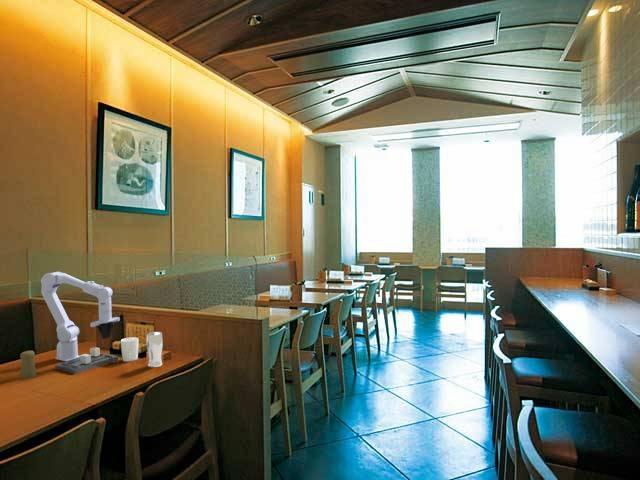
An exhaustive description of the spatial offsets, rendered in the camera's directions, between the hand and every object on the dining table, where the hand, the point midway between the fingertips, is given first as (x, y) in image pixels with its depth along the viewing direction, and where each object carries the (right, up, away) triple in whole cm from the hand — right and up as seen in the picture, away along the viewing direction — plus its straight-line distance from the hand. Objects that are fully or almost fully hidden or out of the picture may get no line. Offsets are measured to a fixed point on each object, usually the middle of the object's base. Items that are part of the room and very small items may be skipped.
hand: (106, 338), depth 202 cm
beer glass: (+31, -9, -15) cm, 36 cm away
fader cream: (-3, -7, -5) cm, 9 cm away
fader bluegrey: (-1, -7, -16) cm, 18 cm away
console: (-2, -10, -12) cm, 16 cm away
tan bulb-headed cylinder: (-20, -11, -26) cm, 35 cm away
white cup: (+15, -10, -5) cm, 18 cm away
